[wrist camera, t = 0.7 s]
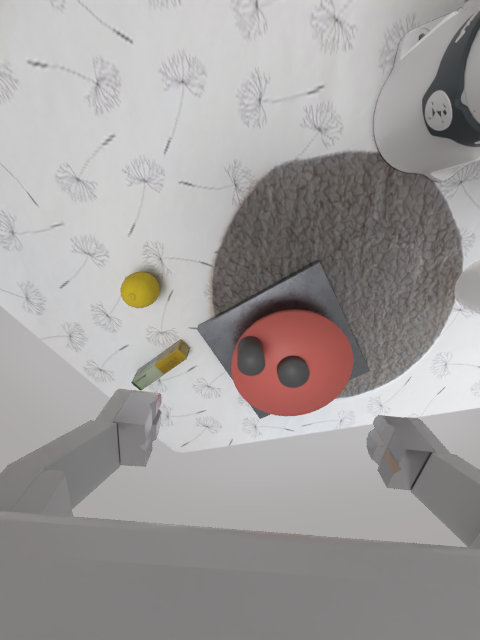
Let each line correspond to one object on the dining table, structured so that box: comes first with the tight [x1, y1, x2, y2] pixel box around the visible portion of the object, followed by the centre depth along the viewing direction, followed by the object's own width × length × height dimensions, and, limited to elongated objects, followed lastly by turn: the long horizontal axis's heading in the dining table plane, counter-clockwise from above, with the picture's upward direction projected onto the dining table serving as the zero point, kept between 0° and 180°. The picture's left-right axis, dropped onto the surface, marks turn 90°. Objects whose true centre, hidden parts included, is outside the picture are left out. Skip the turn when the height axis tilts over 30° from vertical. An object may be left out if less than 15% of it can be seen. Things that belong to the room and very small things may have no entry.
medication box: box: [131, 340, 190, 390], centre depth 50 cm, size 12×3×4 cm, turn 127°
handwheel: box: [231, 309, 353, 416], centre depth 41 cm, size 20×20×6 cm
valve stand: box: [197, 261, 370, 419], centre depth 47 cm, size 24×24×6 cm
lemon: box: [121, 272, 160, 308], centre depth 42 cm, size 6×6×8 cm
